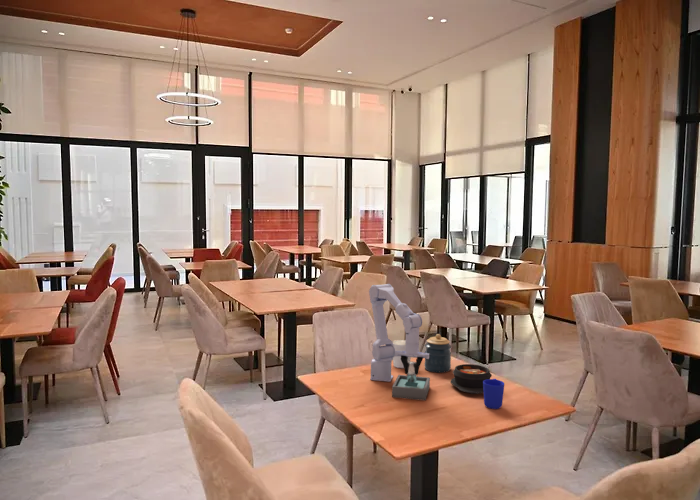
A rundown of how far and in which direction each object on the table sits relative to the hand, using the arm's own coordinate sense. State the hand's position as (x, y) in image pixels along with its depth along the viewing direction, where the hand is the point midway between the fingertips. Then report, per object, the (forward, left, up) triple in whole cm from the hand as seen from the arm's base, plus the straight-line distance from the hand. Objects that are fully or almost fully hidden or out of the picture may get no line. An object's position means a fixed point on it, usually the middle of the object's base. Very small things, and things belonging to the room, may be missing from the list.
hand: (411, 373), depth 216 cm
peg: (0, 0, -3) cm, 3 cm away
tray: (0, 0, -8) cm, 8 cm away
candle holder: (-10, +36, -8) cm, 38 cm away
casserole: (+25, +14, -8) cm, 30 cm away
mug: (+34, -5, -8) cm, 35 cm away
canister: (+8, +36, -8) cm, 38 cm away
